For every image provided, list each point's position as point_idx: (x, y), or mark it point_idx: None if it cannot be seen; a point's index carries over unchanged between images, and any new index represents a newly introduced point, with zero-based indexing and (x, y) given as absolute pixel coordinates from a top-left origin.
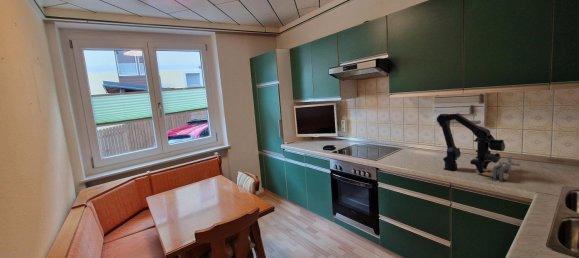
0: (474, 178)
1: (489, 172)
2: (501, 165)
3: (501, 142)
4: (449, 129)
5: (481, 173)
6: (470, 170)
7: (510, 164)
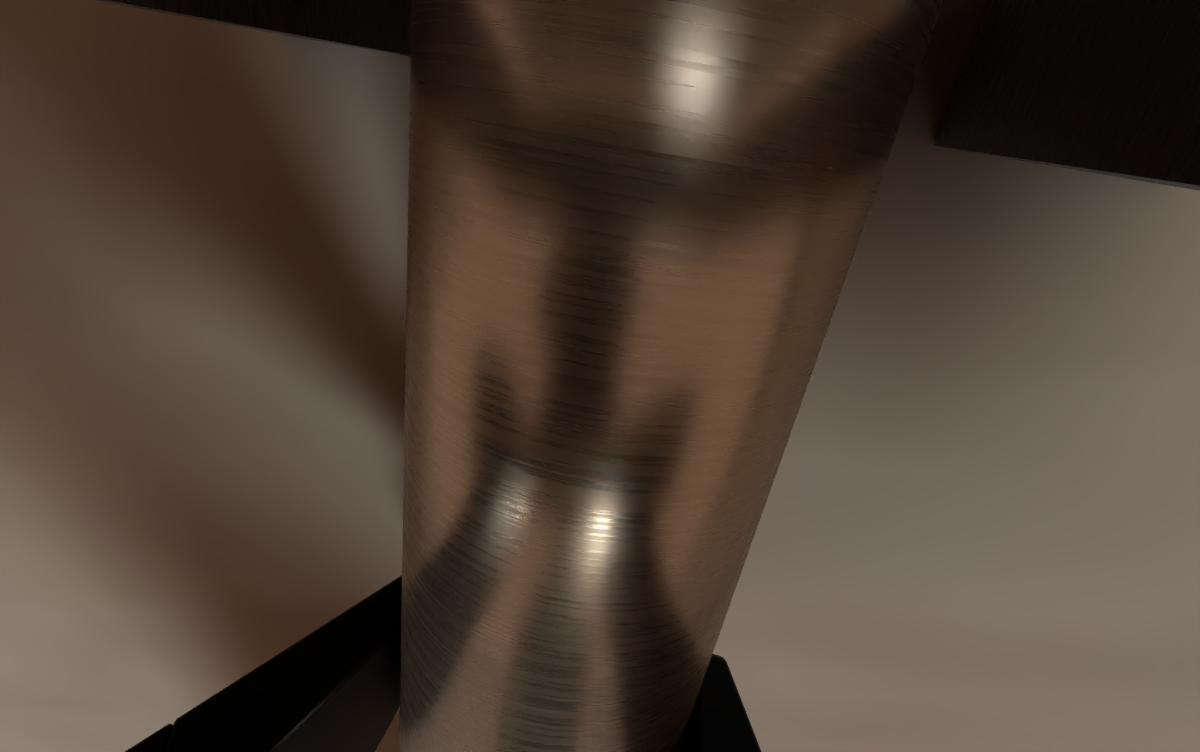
0: (1071, 716)
1: (750, 492)
2: None
3: None
4: None
5: (726, 665)
6: None
7: None
